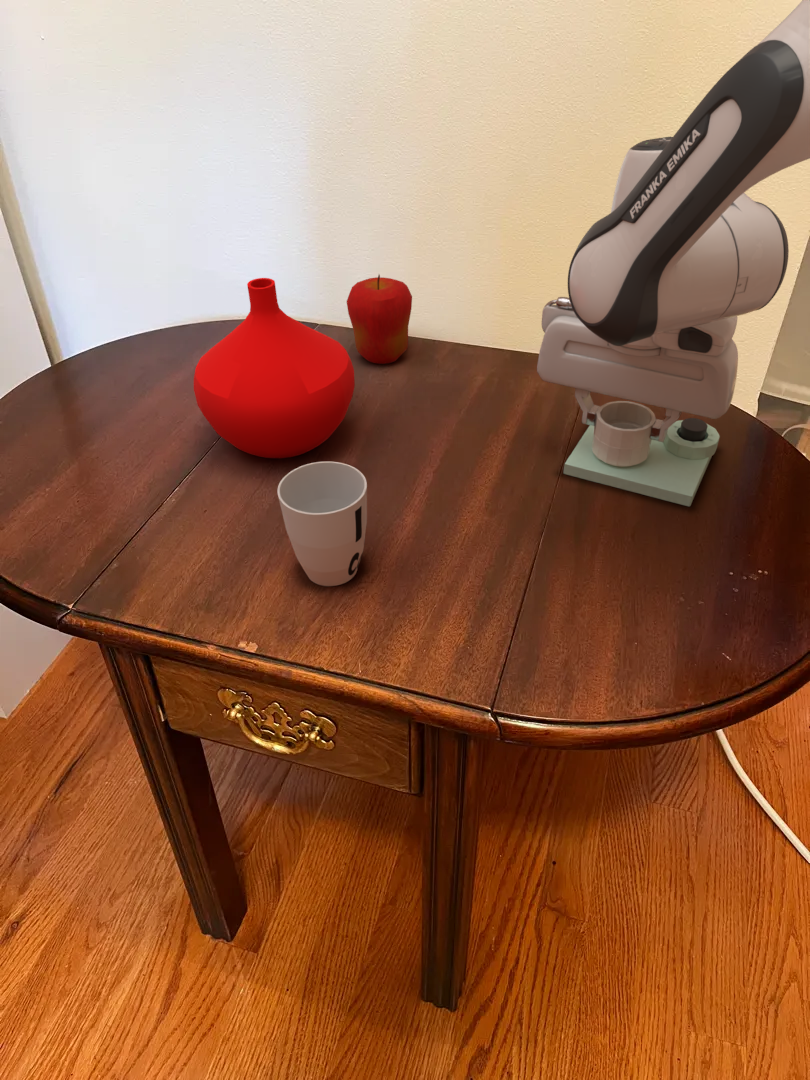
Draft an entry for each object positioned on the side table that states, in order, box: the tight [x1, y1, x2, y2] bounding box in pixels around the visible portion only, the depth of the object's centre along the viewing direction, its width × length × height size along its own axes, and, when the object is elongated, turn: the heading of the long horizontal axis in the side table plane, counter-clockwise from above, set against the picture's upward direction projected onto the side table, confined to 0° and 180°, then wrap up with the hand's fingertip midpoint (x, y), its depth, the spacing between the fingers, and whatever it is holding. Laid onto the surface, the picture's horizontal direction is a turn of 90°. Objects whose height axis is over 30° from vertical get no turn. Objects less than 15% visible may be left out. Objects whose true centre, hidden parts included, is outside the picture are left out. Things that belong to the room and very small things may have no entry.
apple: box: [346, 274, 413, 365], centre depth 112 cm, size 9×8×12 cm
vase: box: [193, 277, 356, 459], centre depth 95 cm, size 18×18×19 cm
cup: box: [276, 461, 368, 587], centre depth 79 cm, size 8×8×10 cm
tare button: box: [679, 417, 708, 442], centre depth 93 cm, size 3×3×2 cm
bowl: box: [592, 400, 657, 467], centre depth 92 cm, size 6×6×5 cm
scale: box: [563, 419, 721, 508], centre depth 94 cm, size 14×12×3 cm
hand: (623, 430), depth 92 cm, fingers closed on bowl, 6 cm apart
